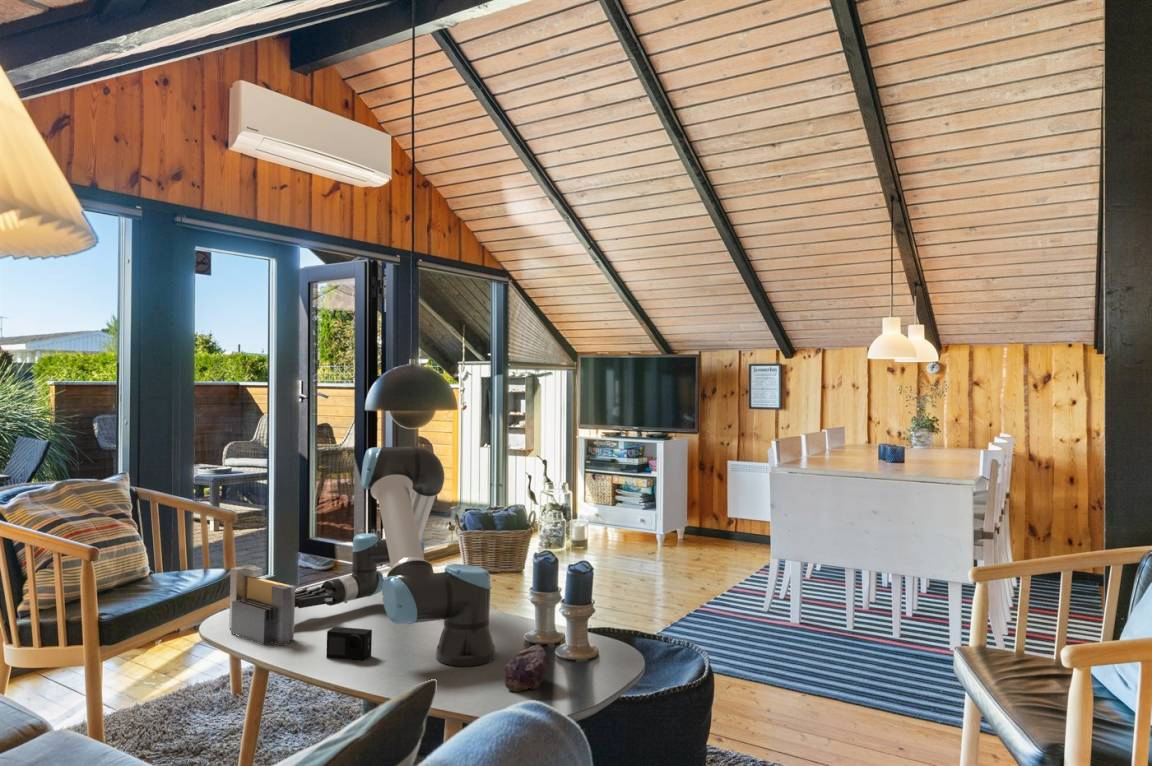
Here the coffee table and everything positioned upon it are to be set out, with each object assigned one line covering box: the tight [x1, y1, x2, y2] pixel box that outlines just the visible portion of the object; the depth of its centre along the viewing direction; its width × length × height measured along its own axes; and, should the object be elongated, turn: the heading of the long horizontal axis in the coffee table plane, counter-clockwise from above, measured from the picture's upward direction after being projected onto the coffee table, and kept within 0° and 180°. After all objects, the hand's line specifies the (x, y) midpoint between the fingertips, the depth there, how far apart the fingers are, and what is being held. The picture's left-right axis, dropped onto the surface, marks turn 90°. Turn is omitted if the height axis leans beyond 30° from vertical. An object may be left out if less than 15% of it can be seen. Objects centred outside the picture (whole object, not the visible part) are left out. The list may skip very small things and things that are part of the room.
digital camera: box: [325, 626, 373, 662], centre depth 201 cm, size 10×5×7 cm, turn 80°
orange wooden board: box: [247, 576, 296, 641], centre depth 218 cm, size 19×2×14 cm, turn 57°
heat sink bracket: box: [228, 564, 291, 646], centre depth 218 cm, size 24×8×17 cm, turn 55°
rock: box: [504, 644, 551, 693], centre depth 185 cm, size 12×9×10 cm
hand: (269, 607), depth 220 cm, fingers closed
